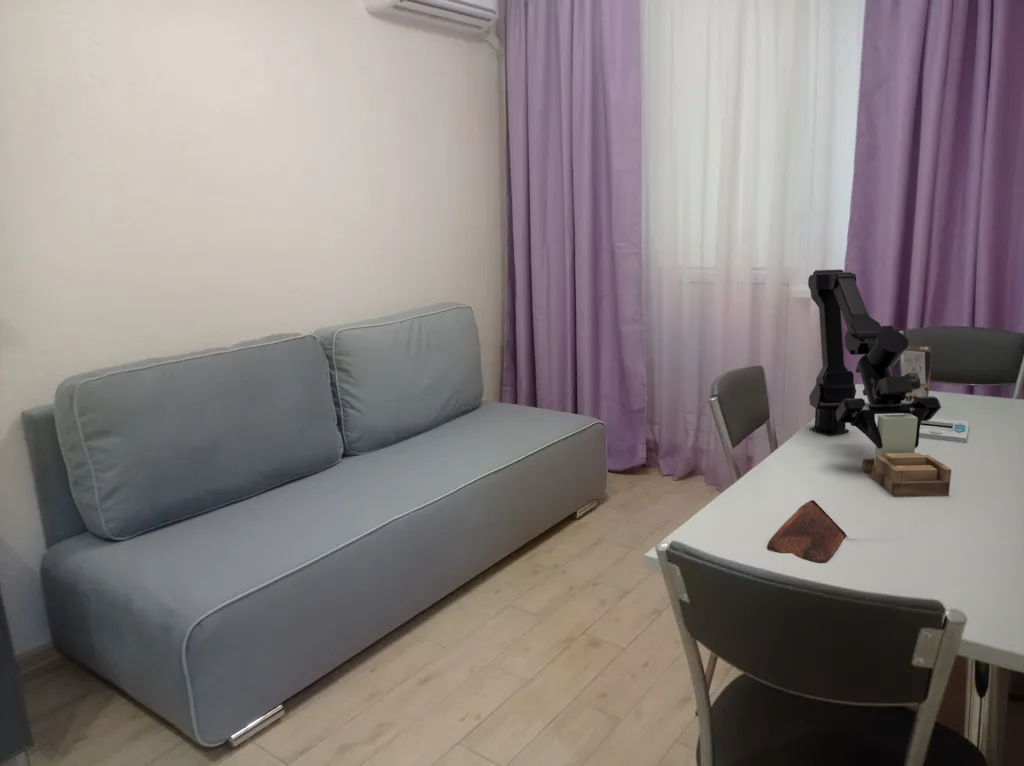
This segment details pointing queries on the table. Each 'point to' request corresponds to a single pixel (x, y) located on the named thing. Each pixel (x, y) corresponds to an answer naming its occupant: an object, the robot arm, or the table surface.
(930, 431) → the electronic device
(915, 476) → the small oak offcut
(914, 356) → the coffee box
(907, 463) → the oak offcut
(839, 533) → the wooden tablet
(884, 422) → the tall board
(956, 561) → the table surface
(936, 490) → the offcut rack
